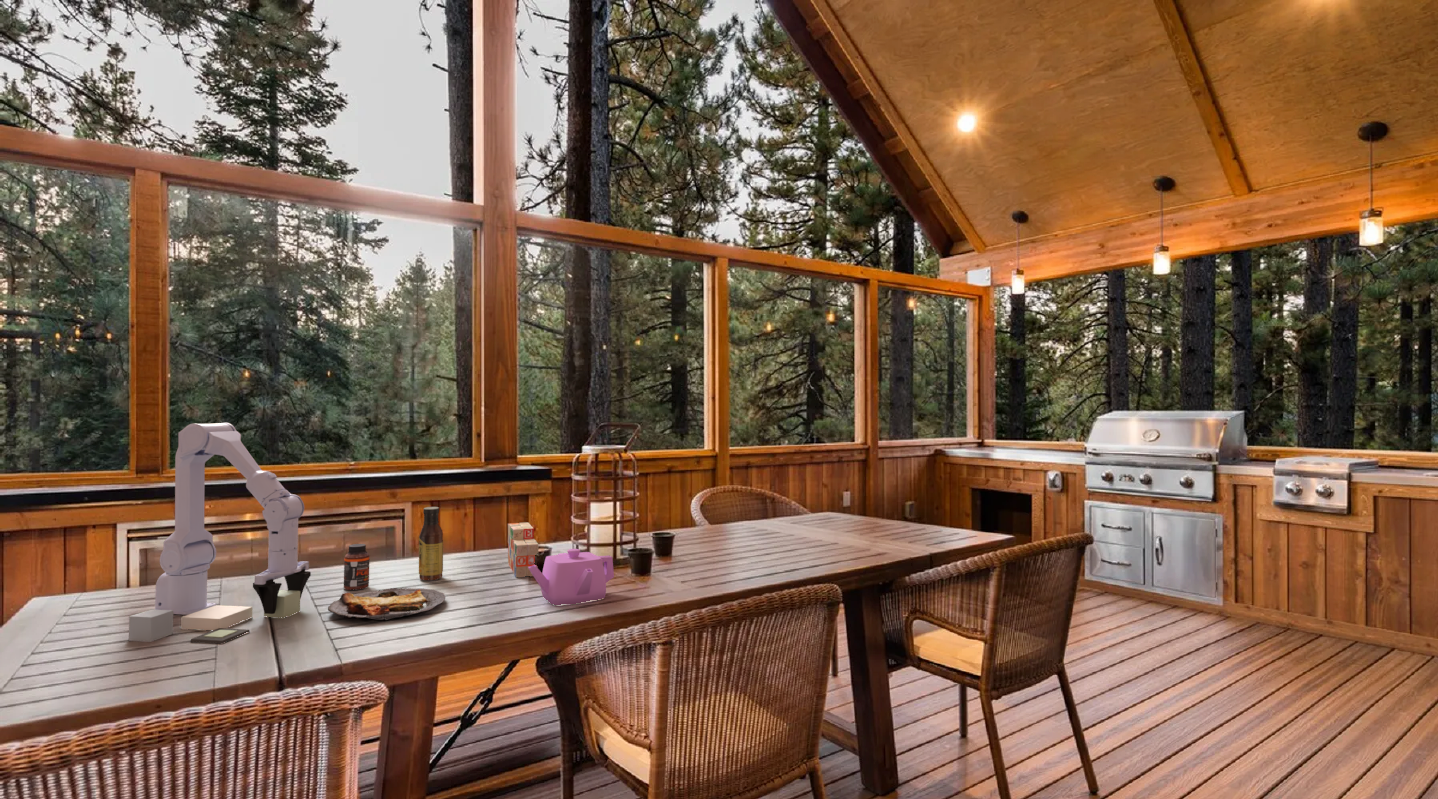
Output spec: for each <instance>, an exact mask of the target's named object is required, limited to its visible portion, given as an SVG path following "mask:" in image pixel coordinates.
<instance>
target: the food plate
mask: <svg viewBox="0 0 1438 799" xmlns="http://www.w3.org/2000/svg"><path fill="white" fill-rule="evenodd" d="M445 599H446V596H445V592H442V591H438V590H436V589H431V588H424V587H423V588H420V587H419V588H418V587H417V588H416V587H415V588H411V587H407V588H405V587H400V588H399V587H393V588H391V587H390V588H385V589H382V590H381V589H378V590H372V591H371V590H370V591H365V592H359V593H356V594H355V593H354V594H353V593H351V592H344V593H342V594H341V596H340V598H339V599H338V600H335V601H333V602H332V603H330V604H329V606H328V607H327V610H328V612H329V613H333V614H335V616H340V617H343V618H349V619H350V618H352V617H355V618H356V619H362V618H366V619H371V620H379V621H382V620H385V621H388V620H391V619H394V618H402V617H404V616H410V615H414V614H419V613H421V612H426V611H429V610H433V608H435V607H436V606H438V605H441V603H443V602H444V601H445ZM424 604H425V606H426V607H424Z"/></svg>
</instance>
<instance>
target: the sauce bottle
mask: <svg viewBox="0 0 1438 799" xmlns="http://www.w3.org/2000/svg"><path fill="white" fill-rule="evenodd" d="M422 513H423V525H422V528H421V530H420V533H419V535H418V575H419V579H420V581H423V582H424V581H426V582H430V581H431V582H432V581H437V580H440V579H442V577H443V572H444V539H443V538H444V537H443V536H444V533H443V529H442V527H441V526H440V524H439V522H440V520H439V513H440V507H438V506H427V507H424V508H423V510H422Z"/></svg>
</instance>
